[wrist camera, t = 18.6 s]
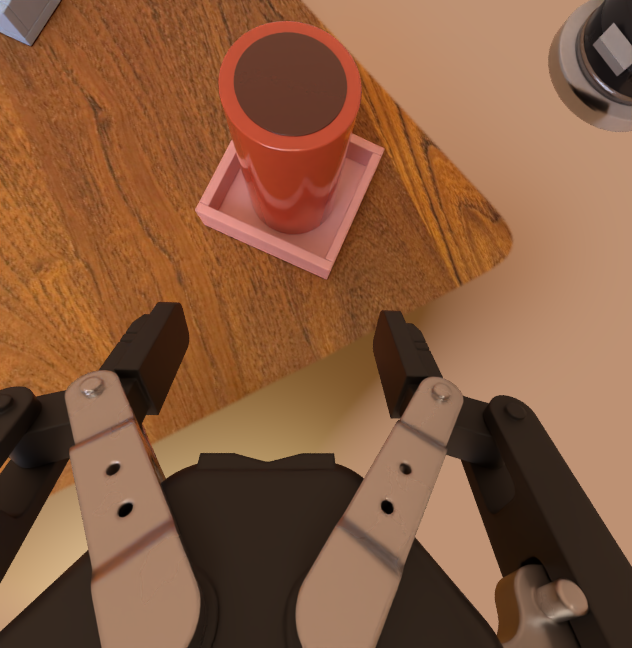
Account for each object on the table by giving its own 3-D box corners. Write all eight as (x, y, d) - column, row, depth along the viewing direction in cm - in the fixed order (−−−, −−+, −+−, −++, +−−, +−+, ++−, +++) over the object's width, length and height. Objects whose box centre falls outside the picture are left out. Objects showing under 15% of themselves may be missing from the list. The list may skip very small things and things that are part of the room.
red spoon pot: (271, 139, 20) (255, -5, 12) (348, 175, 20) (383, 55, 12) (235, 212, 19) (191, 111, 11) (314, 248, 19) (328, 174, 11)
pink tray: (261, 114, 21) (257, 89, 19) (376, 167, 21) (385, 148, 19) (204, 224, 20) (194, 210, 18) (326, 279, 20) (330, 271, 18)
